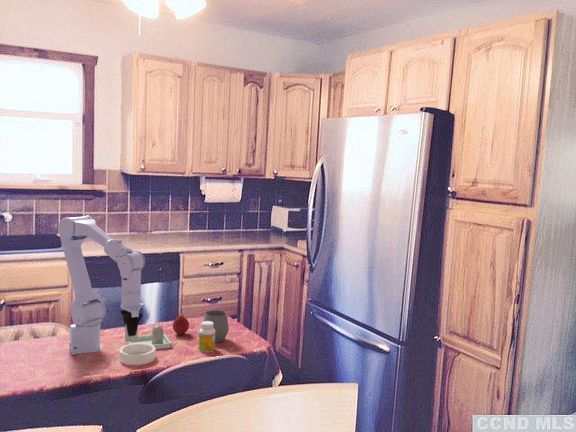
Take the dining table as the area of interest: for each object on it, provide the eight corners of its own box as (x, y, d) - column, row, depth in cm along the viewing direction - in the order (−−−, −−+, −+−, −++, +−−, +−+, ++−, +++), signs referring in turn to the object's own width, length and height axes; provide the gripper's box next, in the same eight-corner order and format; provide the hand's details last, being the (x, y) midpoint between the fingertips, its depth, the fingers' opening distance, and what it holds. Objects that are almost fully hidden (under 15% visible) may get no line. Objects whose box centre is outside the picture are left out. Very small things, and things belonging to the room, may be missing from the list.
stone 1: (126, 342, 167) (126, 322, 167) (123, 338, 170) (124, 319, 170) (139, 340, 169) (139, 321, 168) (135, 337, 172) (136, 317, 172)
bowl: (122, 368, 164) (122, 357, 164) (116, 356, 174) (116, 345, 173) (158, 363, 169) (158, 352, 169) (150, 352, 179) (150, 341, 178)
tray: (132, 353, 176) (132, 347, 176) (126, 342, 186) (126, 337, 186) (171, 348, 182) (171, 343, 182) (163, 338, 192) (163, 333, 192)
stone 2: (153, 345, 183) (153, 327, 182) (150, 342, 186) (151, 324, 186) (164, 344, 185) (164, 326, 184) (161, 341, 188) (162, 323, 187)
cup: (231, 337, 196) (232, 310, 195) (224, 346, 187) (224, 317, 186) (206, 335, 198) (207, 308, 197) (197, 343, 189) (198, 315, 188)
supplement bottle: (195, 352, 180) (196, 323, 179) (203, 347, 185) (204, 319, 184) (209, 354, 179) (210, 326, 178) (217, 349, 184) (218, 321, 183)
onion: (186, 338, 193) (187, 316, 192) (170, 337, 193) (171, 315, 193) (190, 333, 199) (190, 312, 198) (174, 332, 199) (175, 311, 198)
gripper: (149, 295, 163) (148, 339, 165) (139, 284, 176) (139, 325, 178) (125, 297, 160) (124, 341, 162) (117, 286, 173) (116, 327, 175)
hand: (130, 333), depth 169 cm, fingers closed on stone 1, 4 cm apart
